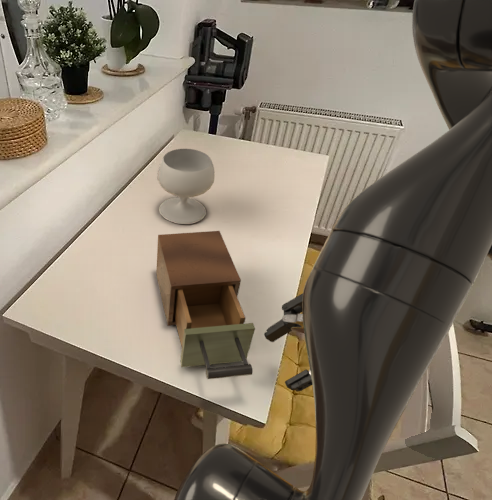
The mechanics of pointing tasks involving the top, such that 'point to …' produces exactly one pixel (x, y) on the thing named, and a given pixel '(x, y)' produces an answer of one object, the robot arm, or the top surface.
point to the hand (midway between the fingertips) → (277, 361)
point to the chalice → (185, 184)
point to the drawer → (213, 330)
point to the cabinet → (192, 265)
